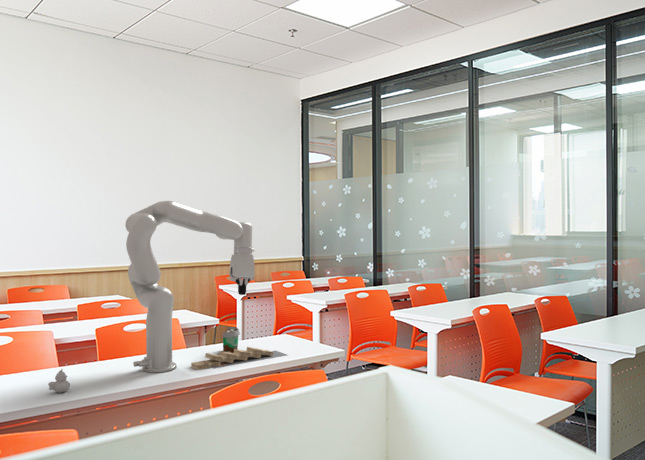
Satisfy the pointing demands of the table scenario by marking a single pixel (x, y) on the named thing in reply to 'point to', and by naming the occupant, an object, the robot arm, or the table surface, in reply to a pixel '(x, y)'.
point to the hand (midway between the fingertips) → (242, 294)
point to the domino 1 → (205, 364)
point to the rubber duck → (59, 383)
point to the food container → (230, 339)
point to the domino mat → (251, 359)
